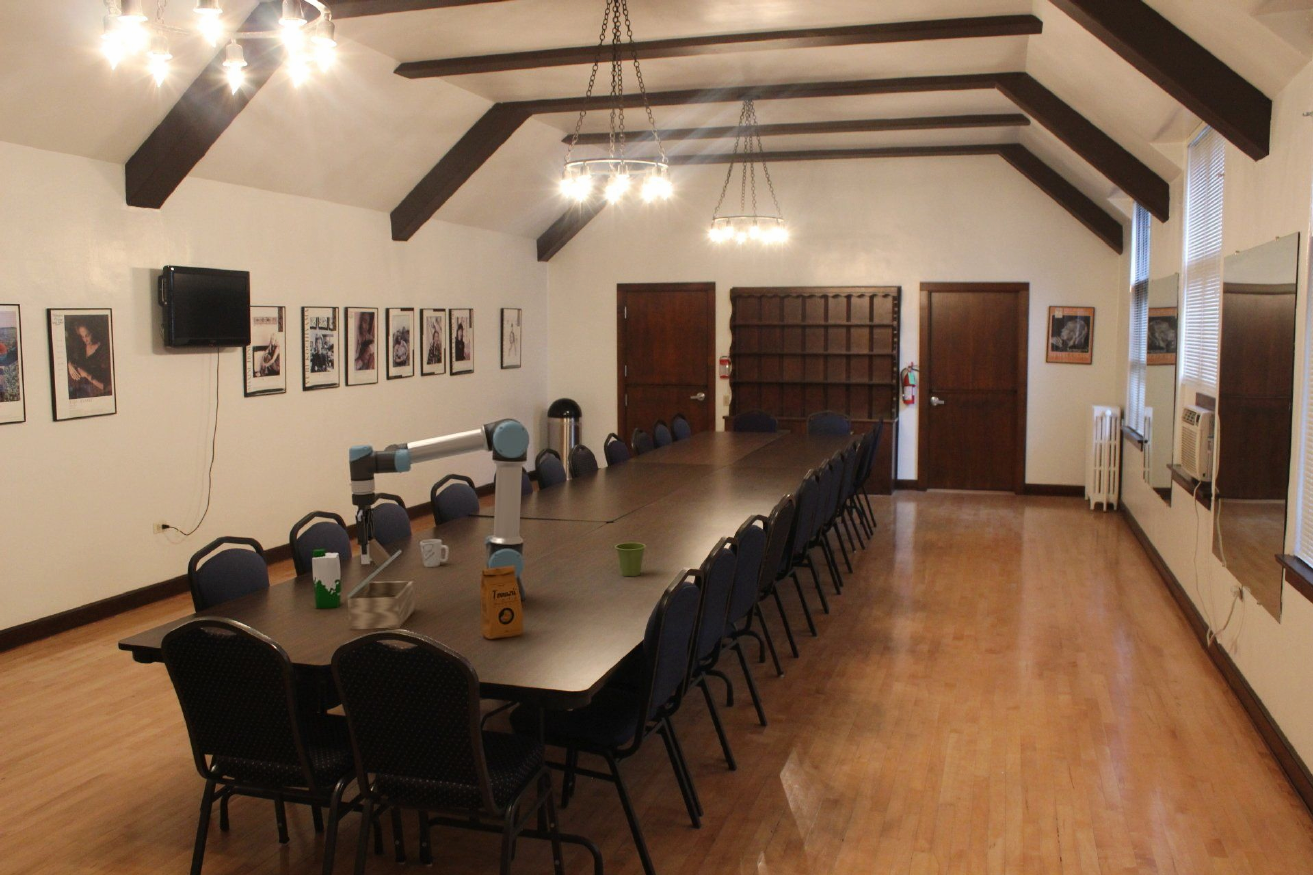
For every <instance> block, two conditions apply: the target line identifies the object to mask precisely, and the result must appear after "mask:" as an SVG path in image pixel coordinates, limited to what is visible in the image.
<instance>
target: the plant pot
mask: <svg viewBox="0 0 1313 875" xmlns="http://www.w3.org/2000/svg"><path fill="white" fill-rule="evenodd" d="M614 547H615V550H616V553H617V556H618V562H619V567H620V573H621V575H622V576H623V577H637V576H640V574H641V570H642V565H643V557H644V553H645V548H646V547H647V545H646V544H644V543H641V542H623V543H618V544H616V545H614Z"/></svg>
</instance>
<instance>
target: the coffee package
mask: <svg viewBox="0 0 1313 875" xmlns="http://www.w3.org/2000/svg"><path fill="white" fill-rule="evenodd" d="M514 572H515V566H508V567H501V568H491V569H487V568H486V569H482V570H481V574H480V576H481V580H480V596H479V598H480V622H481V623H480V624H481V635H482V636H484V637H485V638H486V639H489V640H492V639H501V638H511V637H517V636H523V633H524V632H523V631H524V620H523V619H524V618H523V616H524V615H523V606H522V601H521V598H520V593H519V588H518V584H517V580H516V575H515V573H514Z"/></svg>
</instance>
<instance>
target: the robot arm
mask: <svg viewBox="0 0 1313 875" xmlns="http://www.w3.org/2000/svg"><path fill="white" fill-rule="evenodd" d="M529 444H530V434H529V432H528V430H527V428H526V427H525V426H524V425H523V424H522V423H521V422H520V421H518V420H517V419H514V418H503V419H500V420H496V421H493V422H489V423H485V424H482V425H481V426H480V427H479V428H474V429H469V430H465V431H461V432H455V433H449V434H444V435H439V436H434V437H430V438H429V437H428V438H425V439H419V440H415V441H410V442H405V443H398V444H395V443H393V444H389V445H388V446H387V447H385V449H384V450H374V449H373V446H372V445H370V444H360V445H359V444H358V445H353V446H351V447H350V448H349V450H348V451H349V453H348V456H349V458H348V459H349V460H348V463H349V473H350V482H349V486H351V493H352V494H351V504H352V505H353V506H357V511H356V514H355V516H354V518H355V522H356V537H357V542H356V545H357V546H359V547H360V548H359V549H360V561H361V563H360V564H361V565H370V564H371V561H372V562H374V561H373V560H372V559H371V558H370V551H369V544H368V543H369V542H370V541H371V540H372V539H375V540H376V541H377V539H376V537H375V536H376V535H375V519H374V518H375V517H374V516H375V514H374V512H375V511H374V510H375V508H374V507H372V505H375V503H377V500H376V492H375V490H376V482H375V474H395V473H398V474H402V473H406V472H410V471H411V468H412V465H414V464H420V463H423V462H428V461H434V460H439V459H444V458H449V457H454V456H460V455H464V454H468V453H473V452H479V451H486V452H487V453H489V452H491V454H492V456H491V458H492V462H493V463H494V464H495V466H496V467H495V468H496V469H495V491H494V492H495V496H494V498H495V499H494V520H493V522H494V524H493V534H492V535H491V534H490V535H487V536H486V538H485V542H484V546H485V561H486V563H485V564H486V569H491V568H501V567H508V566H515V572H514V573H515V575H516V580H517V584H518V588H519V593H520V598H521V602H522V601H524V600H525V599H526V598H527V596H526V595H527V594H526V590H525V586H524V583H523V581H522V578H521V574H522V572H523V571H524V567H525V561H524V539H523V538H522V537H521V535H520V527H521V525H520V524H521V504H522V503H521V501H522V500H521V498H522V478H523V477H522V476H523V474H522V473H523V465H525V463H527V462H528V458H527V457H528V448H529Z"/></svg>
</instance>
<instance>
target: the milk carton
mask: <svg viewBox="0 0 1313 875" xmlns="http://www.w3.org/2000/svg"><path fill="white" fill-rule="evenodd" d="M311 563H312V564H311V566H312V580H313V596H314V603H315V609H316V610H321V609H322V610H323V609H333V608H335V609H336V608H338V607H339V605H340V603H341V597H342V579H341V576H342V575H341V563H340V556H339V553H338V552H326V550H325V548H317V549H313V550H312V558H311Z"/></svg>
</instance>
